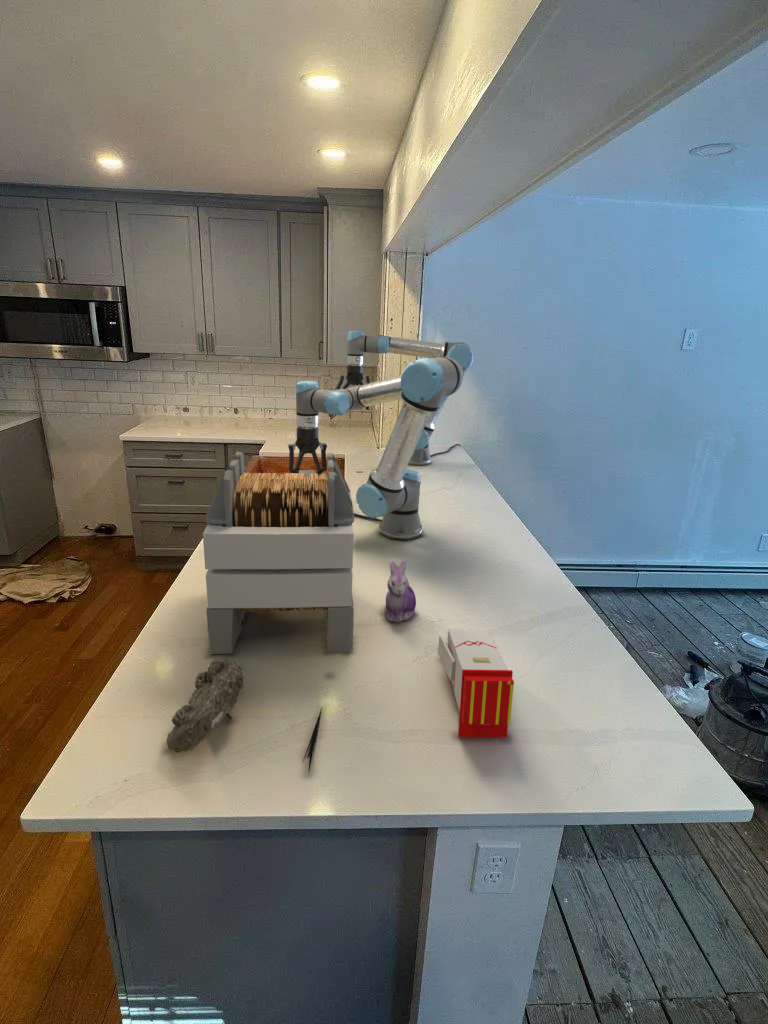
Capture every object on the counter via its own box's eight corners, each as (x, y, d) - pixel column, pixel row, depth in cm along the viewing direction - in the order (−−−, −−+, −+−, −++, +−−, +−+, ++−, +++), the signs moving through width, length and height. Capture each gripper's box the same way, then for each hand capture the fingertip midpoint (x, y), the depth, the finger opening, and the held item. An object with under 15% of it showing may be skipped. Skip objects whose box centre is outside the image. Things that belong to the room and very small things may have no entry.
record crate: (229, 585, 158) (221, 442, 144) (346, 584, 161) (350, 444, 148) (206, 656, 126) (193, 481, 112) (353, 652, 130) (358, 483, 116)
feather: (331, 679, 122) (336, 673, 122) (307, 777, 96) (313, 769, 95) (324, 675, 122) (329, 669, 121) (298, 772, 95) (304, 764, 95)
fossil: (192, 660, 117) (244, 628, 112) (224, 691, 120) (276, 661, 115) (142, 746, 98) (202, 712, 93) (182, 779, 101) (242, 748, 96)
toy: (488, 613, 130) (523, 677, 101) (484, 667, 133) (517, 744, 104) (435, 612, 130) (455, 676, 101) (432, 666, 133) (451, 743, 103)
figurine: (392, 627, 141) (395, 572, 136) (374, 608, 149) (376, 556, 144) (425, 619, 145) (429, 566, 140) (405, 601, 154) (408, 550, 149)
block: (301, 506, 201) (301, 475, 198) (298, 499, 208) (297, 470, 204) (317, 505, 203) (317, 475, 199) (313, 498, 210) (313, 469, 206)
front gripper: (281, 429, 190) (283, 495, 198) (336, 428, 196) (335, 492, 203) (278, 425, 197) (280, 489, 204) (331, 424, 202) (331, 486, 210)
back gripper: (331, 365, 261) (330, 411, 269) (382, 366, 269) (380, 410, 276) (327, 363, 268) (327, 408, 275) (377, 364, 276) (376, 408, 283)
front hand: (307, 490), depth 204 cm, fingers closed on block, 6 cm apart
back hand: (353, 409), depth 276 cm, fingers open, 13 cm apart
